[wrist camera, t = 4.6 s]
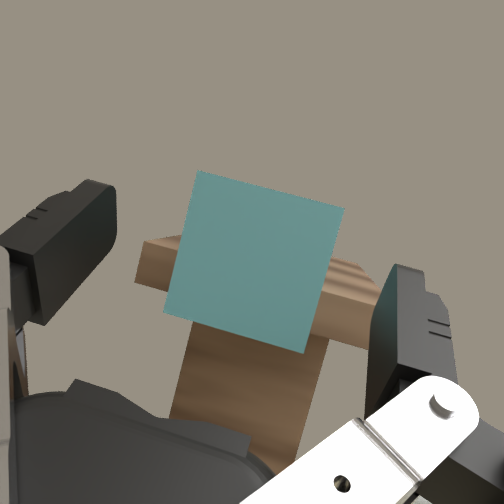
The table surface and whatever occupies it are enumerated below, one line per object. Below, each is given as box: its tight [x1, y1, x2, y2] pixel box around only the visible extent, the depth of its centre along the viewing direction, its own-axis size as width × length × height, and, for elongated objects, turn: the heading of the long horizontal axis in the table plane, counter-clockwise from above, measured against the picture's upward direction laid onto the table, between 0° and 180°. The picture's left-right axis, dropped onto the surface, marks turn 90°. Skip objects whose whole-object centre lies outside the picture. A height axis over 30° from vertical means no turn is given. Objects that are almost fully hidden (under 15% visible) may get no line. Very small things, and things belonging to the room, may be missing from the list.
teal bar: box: [163, 171, 344, 354], centre depth 24 cm, size 26×4×4 cm, turn 172°
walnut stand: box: [135, 235, 382, 475], centre depth 33 cm, size 20×16×32 cm
